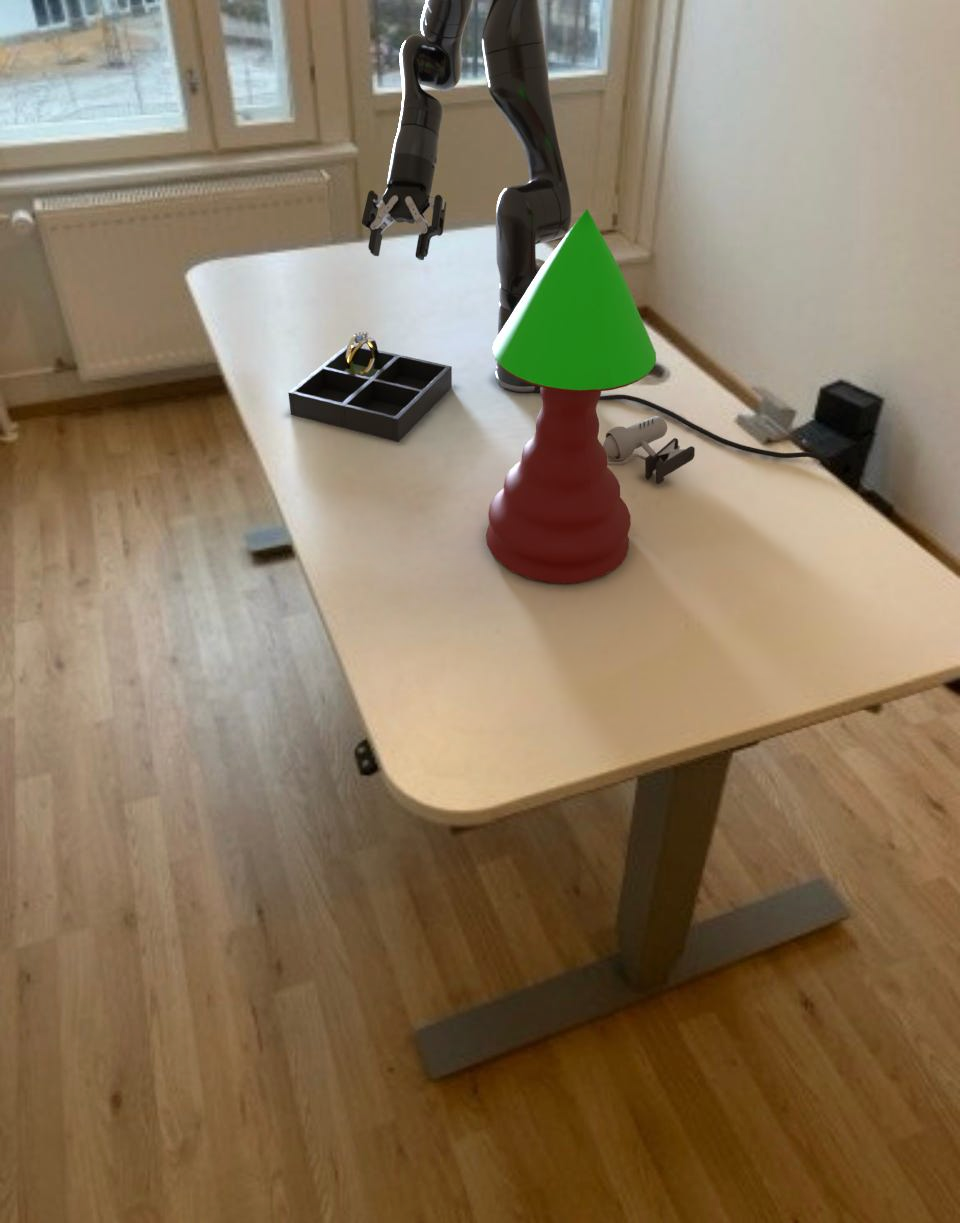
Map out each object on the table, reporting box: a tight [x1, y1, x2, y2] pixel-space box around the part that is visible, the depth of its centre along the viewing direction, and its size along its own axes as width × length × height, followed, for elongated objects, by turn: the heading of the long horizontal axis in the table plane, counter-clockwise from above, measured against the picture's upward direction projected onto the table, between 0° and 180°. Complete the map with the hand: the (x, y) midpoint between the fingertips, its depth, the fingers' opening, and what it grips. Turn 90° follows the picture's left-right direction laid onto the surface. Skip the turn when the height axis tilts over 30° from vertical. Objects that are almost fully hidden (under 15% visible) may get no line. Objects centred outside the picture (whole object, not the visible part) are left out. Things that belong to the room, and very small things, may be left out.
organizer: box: [287, 344, 453, 443], centre depth 162 cm, size 20×20×4 cm
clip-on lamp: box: [602, 415, 696, 485], centre depth 147 cm, size 12×6×18 cm
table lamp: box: [485, 208, 657, 584], centre depth 120 cm, size 20×20×45 cm
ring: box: [346, 331, 379, 376], centre depth 166 cm, size 7×3×8 cm, turn 139°
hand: (396, 256), depth 165 cm, fingers open, 8 cm apart
